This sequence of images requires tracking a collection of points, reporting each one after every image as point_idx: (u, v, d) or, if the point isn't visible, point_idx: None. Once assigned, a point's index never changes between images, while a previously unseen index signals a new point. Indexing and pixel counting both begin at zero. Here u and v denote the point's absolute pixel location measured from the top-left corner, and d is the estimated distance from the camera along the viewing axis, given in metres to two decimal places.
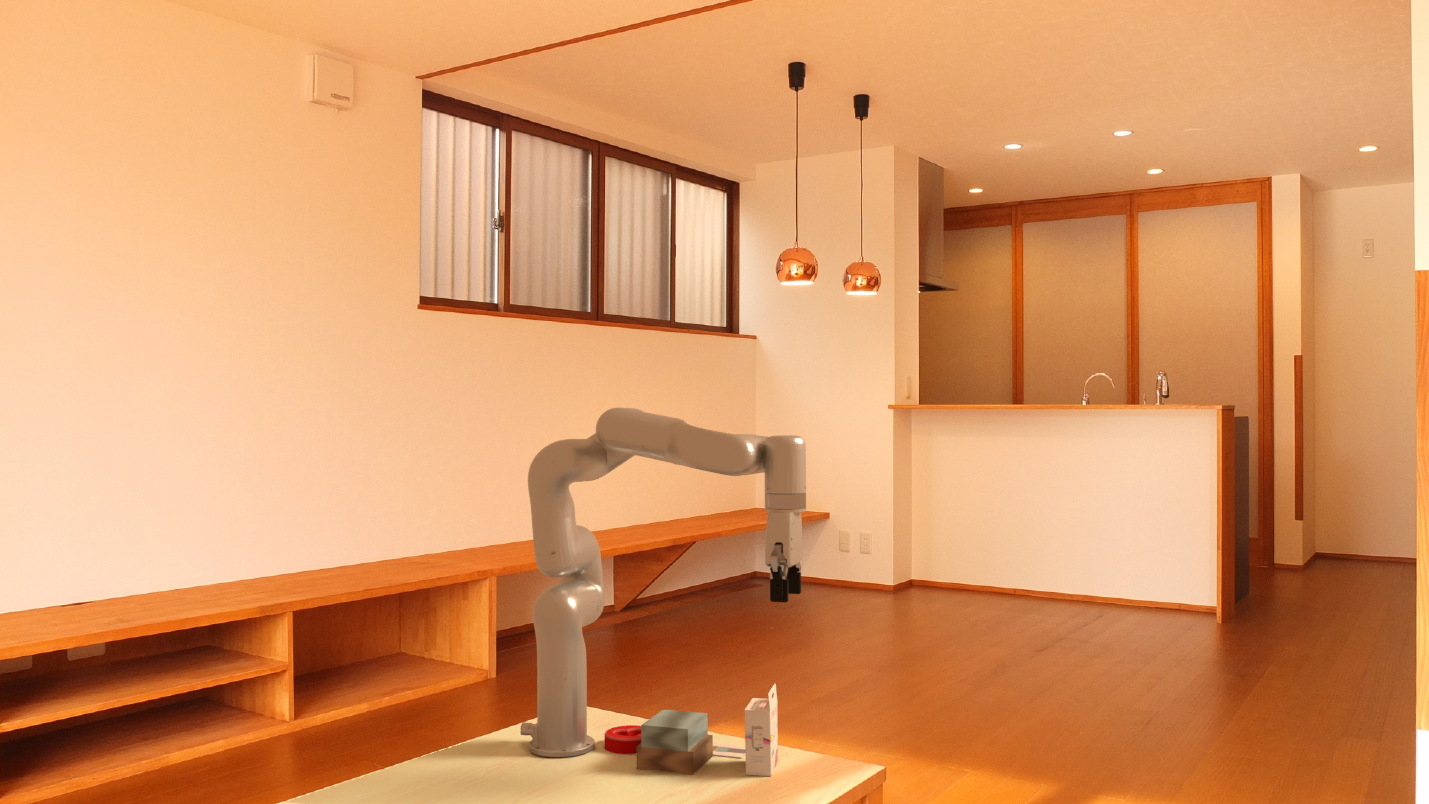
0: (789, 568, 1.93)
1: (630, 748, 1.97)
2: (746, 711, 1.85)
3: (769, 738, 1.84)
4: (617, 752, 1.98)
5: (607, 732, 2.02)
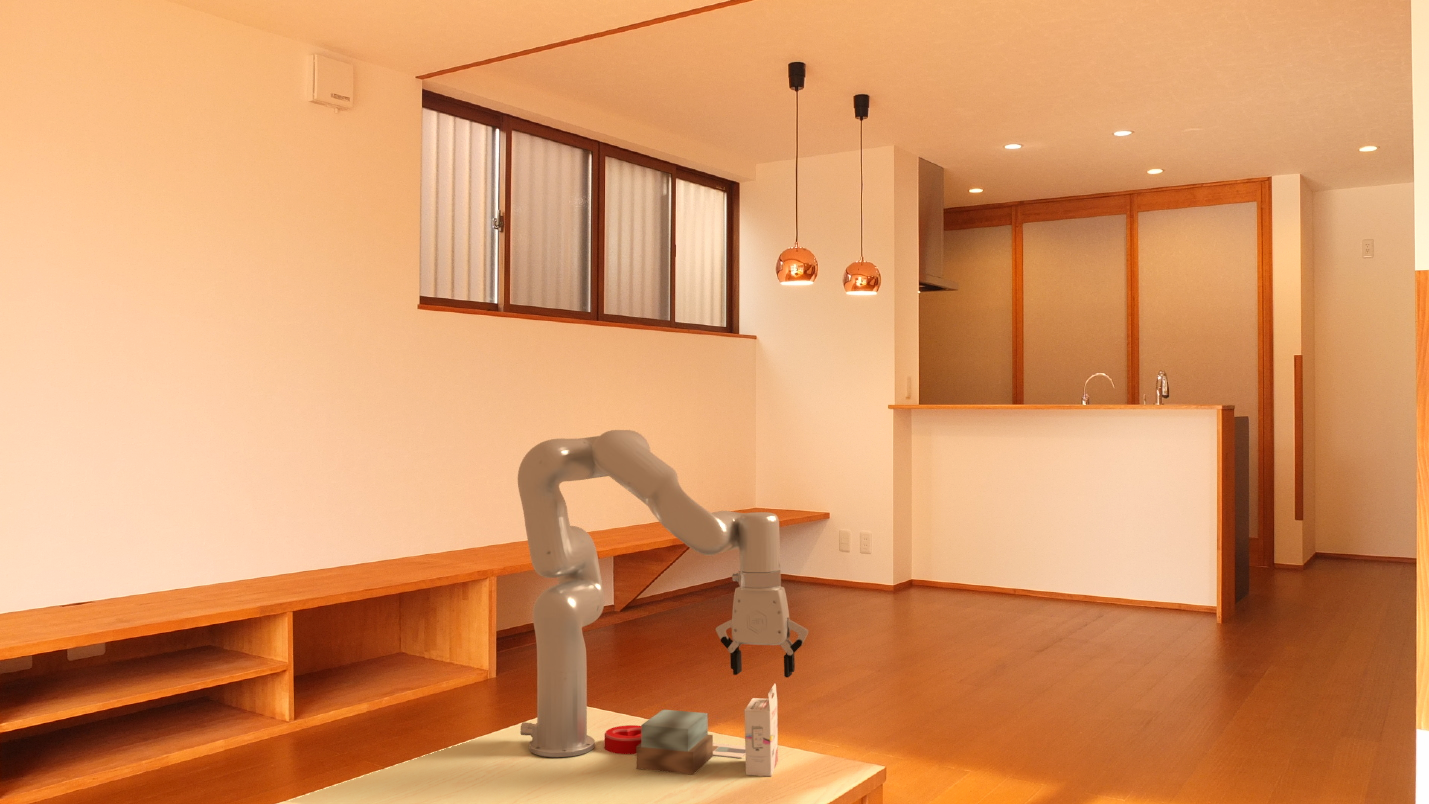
0: (736, 648, 1.90)
1: (630, 748, 1.97)
2: (746, 711, 1.85)
3: (769, 738, 1.84)
4: (617, 752, 1.98)
5: (607, 732, 2.02)
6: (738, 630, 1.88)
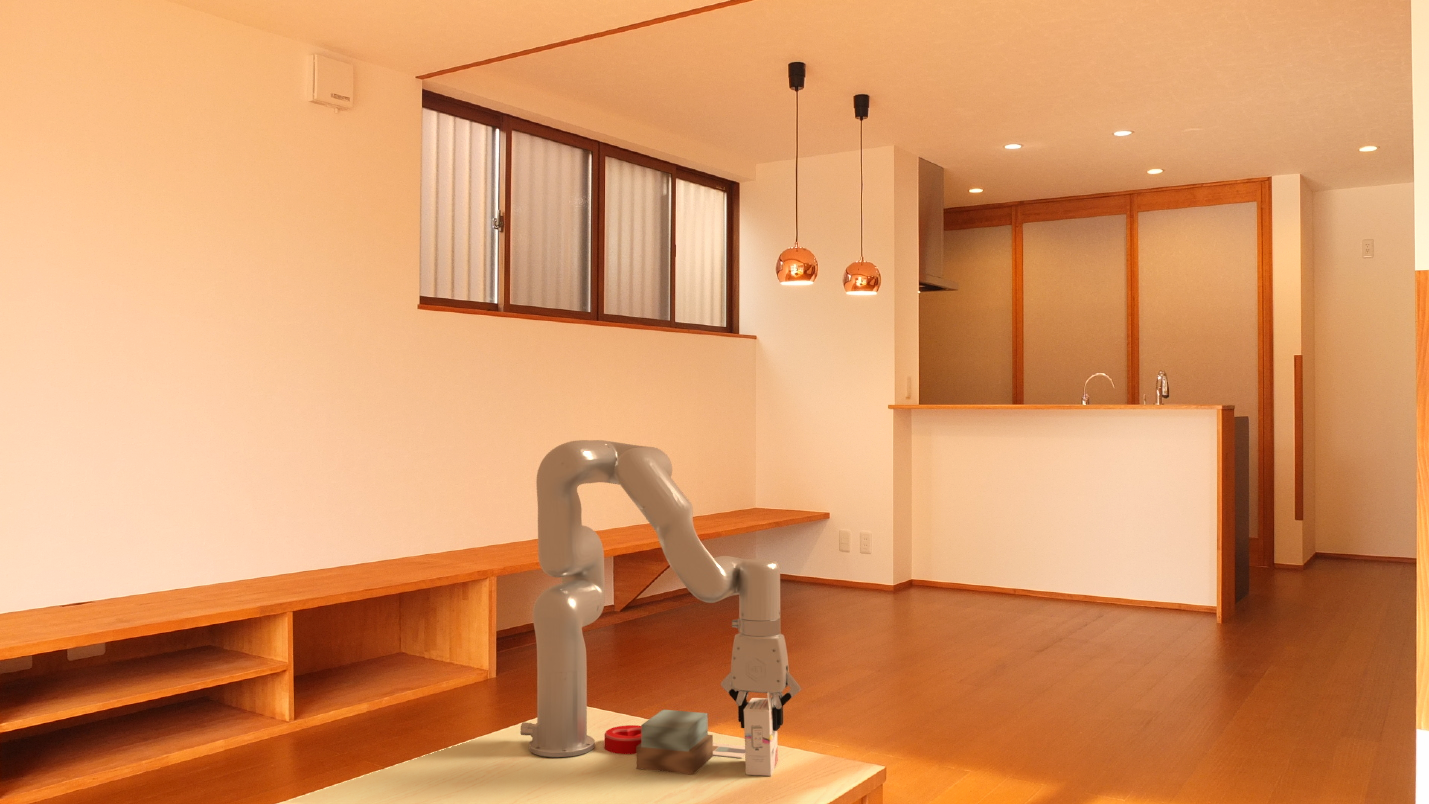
0: (743, 699, 1.89)
1: (630, 748, 1.97)
2: (745, 711, 1.85)
3: (769, 737, 1.84)
4: (617, 752, 1.98)
5: (607, 732, 2.02)
6: (737, 677, 1.88)
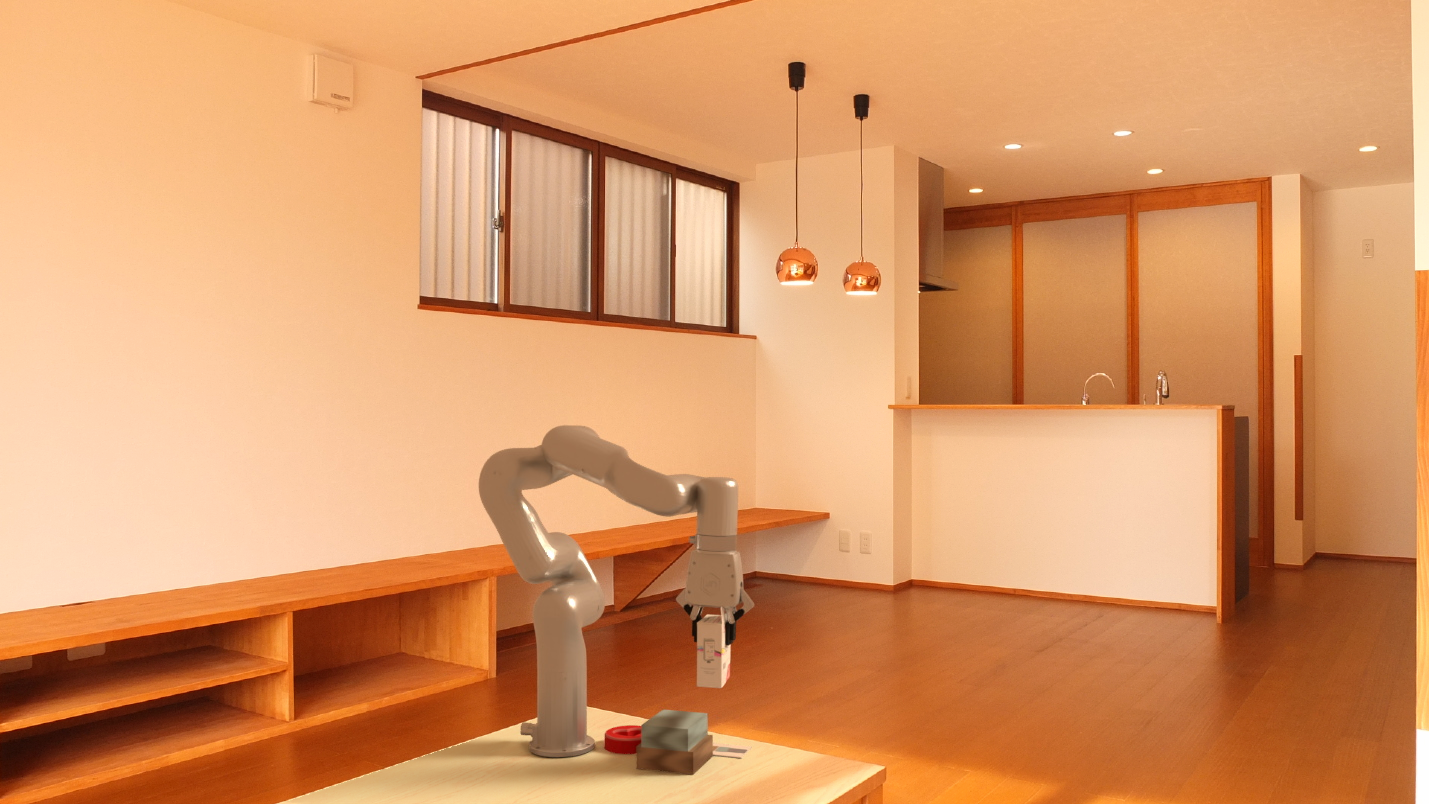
0: (698, 614, 1.92)
1: (630, 748, 1.97)
2: (699, 624, 1.88)
3: (720, 651, 1.87)
4: (617, 752, 1.98)
5: (607, 732, 2.02)
6: (692, 592, 1.90)
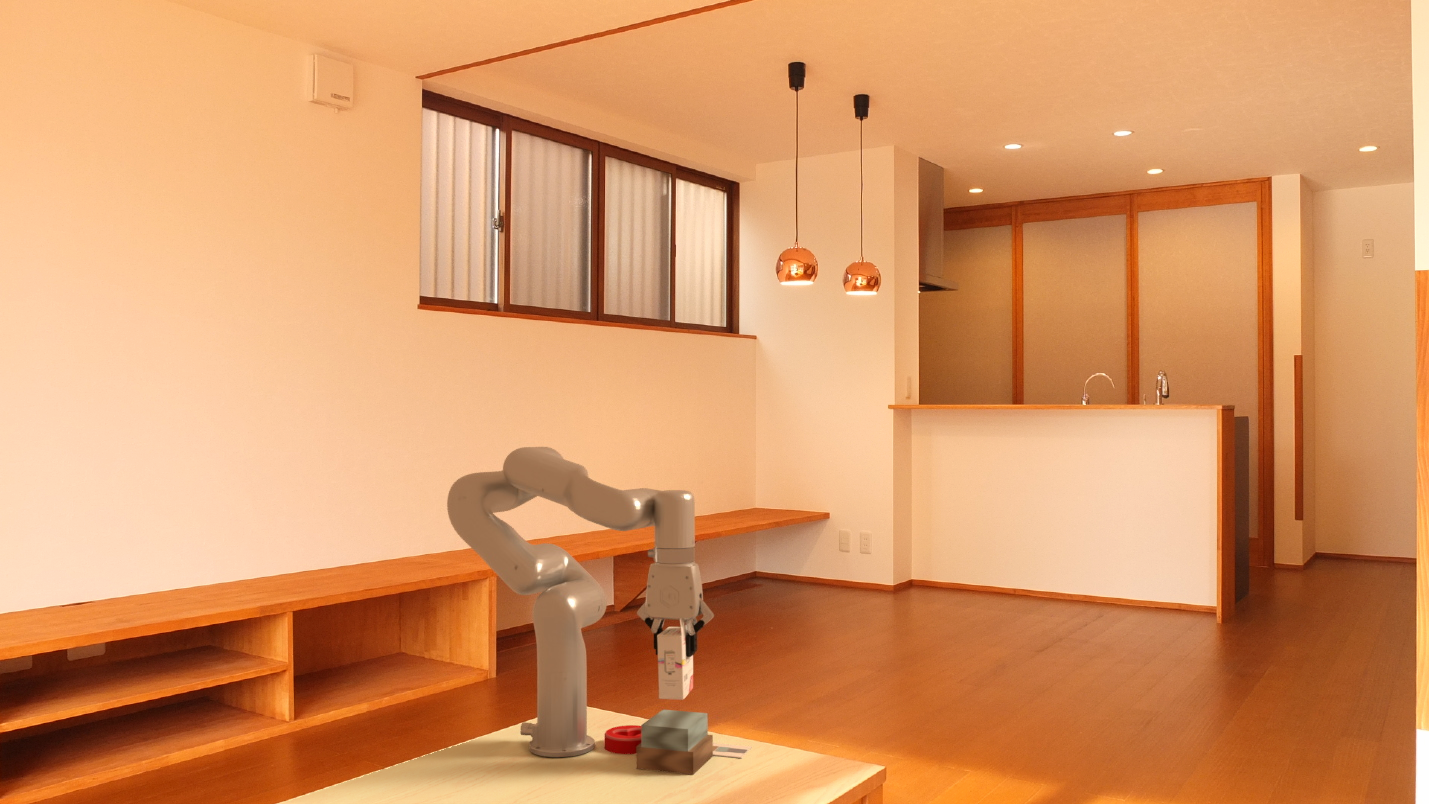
0: (659, 627, 1.93)
1: (630, 748, 1.97)
2: (659, 636, 1.89)
3: (681, 662, 1.88)
4: (617, 752, 1.98)
5: (607, 732, 2.02)
6: (651, 605, 1.92)
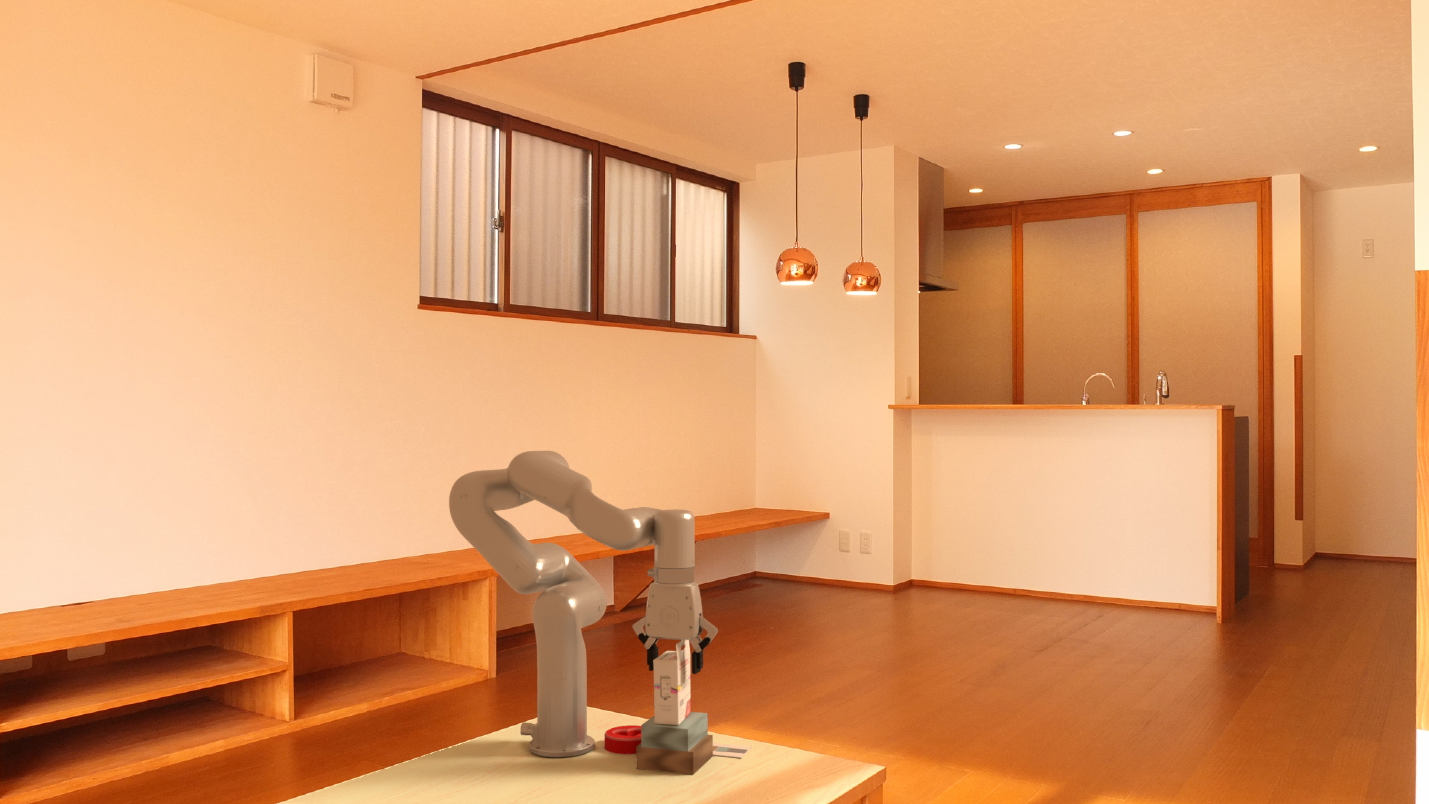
0: (652, 644, 1.94)
1: (630, 748, 1.97)
2: (655, 661, 1.89)
3: (676, 688, 1.88)
4: (617, 752, 1.98)
5: (607, 732, 2.02)
6: (651, 624, 1.92)
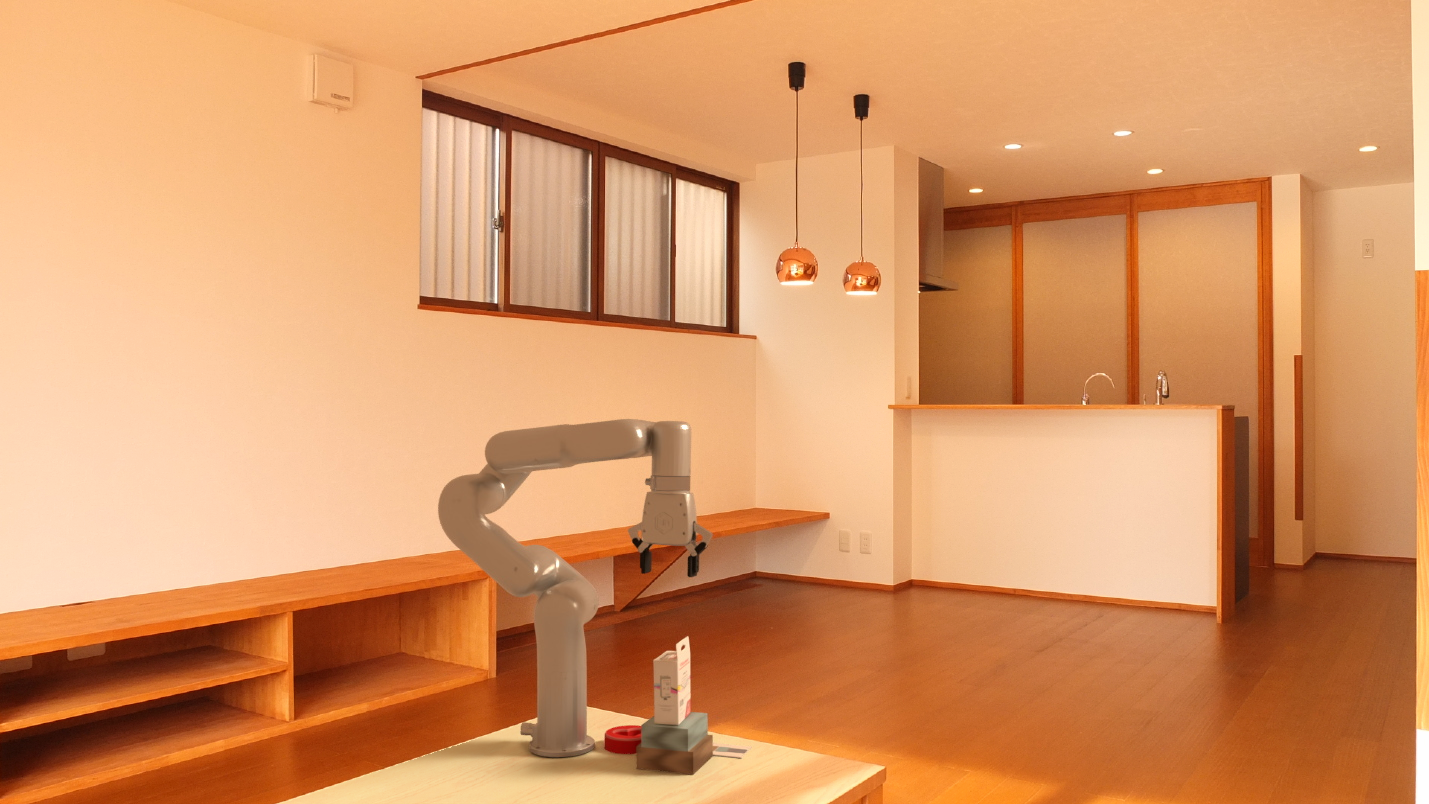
0: (645, 549, 2.00)
1: (630, 748, 1.97)
2: (655, 661, 1.89)
3: (676, 688, 1.88)
4: (617, 752, 1.98)
5: (607, 732, 2.02)
6: (647, 531, 1.97)
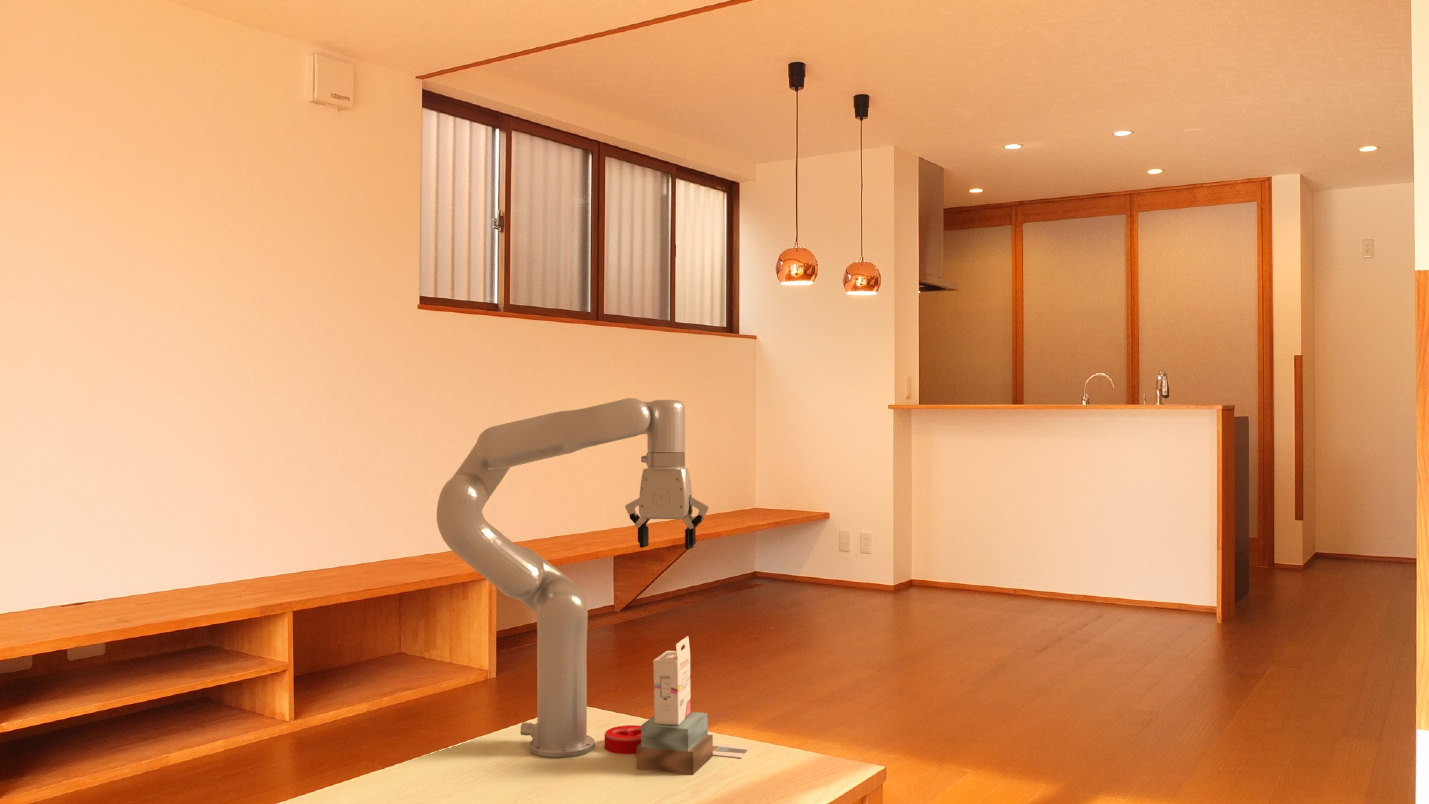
0: (643, 523, 2.07)
1: (630, 748, 1.97)
2: (655, 661, 1.89)
3: (676, 688, 1.88)
4: (617, 752, 1.98)
5: (607, 732, 2.02)
6: (644, 506, 2.05)
